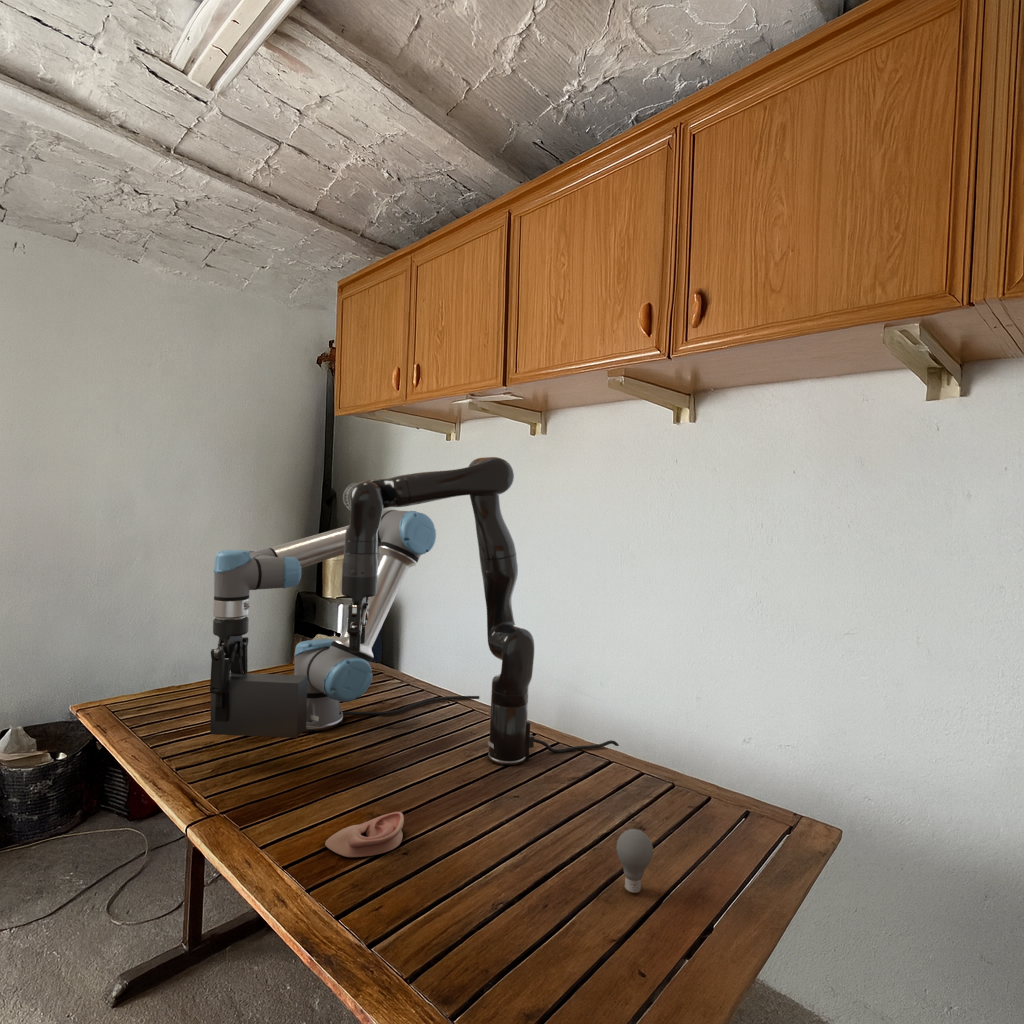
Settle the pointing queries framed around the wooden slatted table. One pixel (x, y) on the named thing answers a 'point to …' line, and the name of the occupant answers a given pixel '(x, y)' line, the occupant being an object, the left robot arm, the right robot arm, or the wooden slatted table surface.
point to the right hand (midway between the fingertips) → (357, 647)
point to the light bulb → (634, 857)
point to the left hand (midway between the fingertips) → (228, 715)
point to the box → (263, 706)
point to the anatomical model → (368, 837)
